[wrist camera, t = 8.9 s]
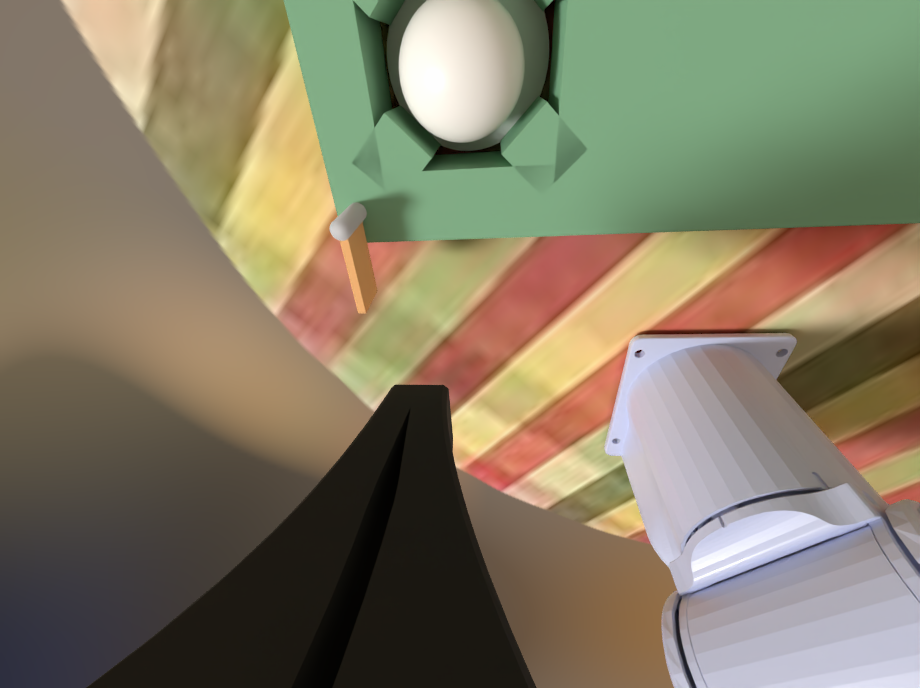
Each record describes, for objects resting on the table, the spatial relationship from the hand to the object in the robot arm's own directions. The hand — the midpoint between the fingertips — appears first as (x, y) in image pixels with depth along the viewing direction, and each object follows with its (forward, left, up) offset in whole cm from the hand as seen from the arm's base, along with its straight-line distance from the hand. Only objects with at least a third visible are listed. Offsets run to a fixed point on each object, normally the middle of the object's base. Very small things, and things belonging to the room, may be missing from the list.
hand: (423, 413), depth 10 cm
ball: (+7, -1, -8) cm, 11 cm away
